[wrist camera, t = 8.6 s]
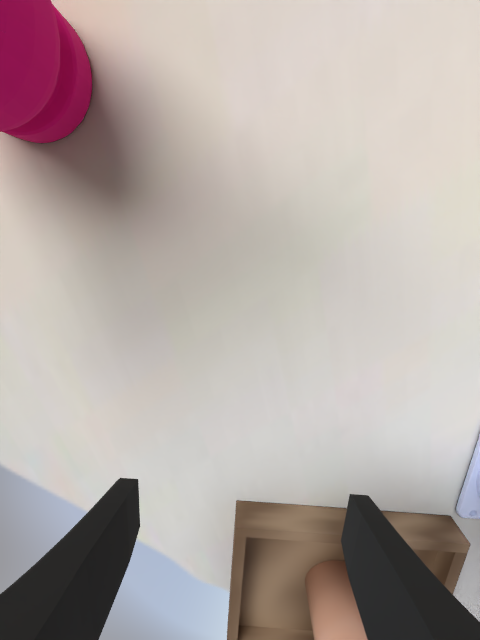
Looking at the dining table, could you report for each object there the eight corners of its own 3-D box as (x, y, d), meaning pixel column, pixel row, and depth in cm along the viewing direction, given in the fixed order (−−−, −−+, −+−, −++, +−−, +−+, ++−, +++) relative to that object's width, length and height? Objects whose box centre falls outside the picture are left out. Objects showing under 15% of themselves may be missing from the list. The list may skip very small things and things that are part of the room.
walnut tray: (450, 515, 23) (470, 544, 21) (412, 633, 27) (426, 667, 25) (236, 500, 24) (235, 527, 22) (228, 619, 27) (226, 652, 25)
